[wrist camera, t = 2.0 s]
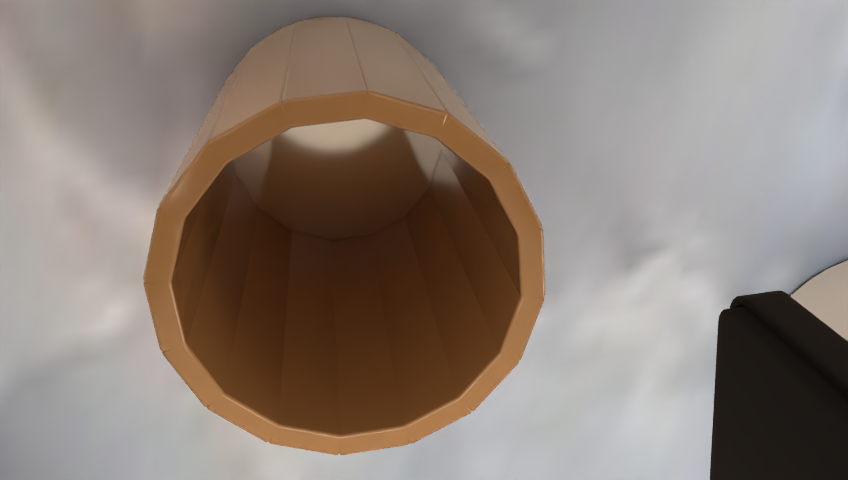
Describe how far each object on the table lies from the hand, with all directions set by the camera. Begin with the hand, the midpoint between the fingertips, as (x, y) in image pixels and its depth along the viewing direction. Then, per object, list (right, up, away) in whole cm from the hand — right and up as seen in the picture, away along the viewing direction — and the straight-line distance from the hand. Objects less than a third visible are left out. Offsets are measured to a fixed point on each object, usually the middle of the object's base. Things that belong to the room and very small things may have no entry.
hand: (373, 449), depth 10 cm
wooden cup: (-2, +6, +13) cm, 14 cm away
